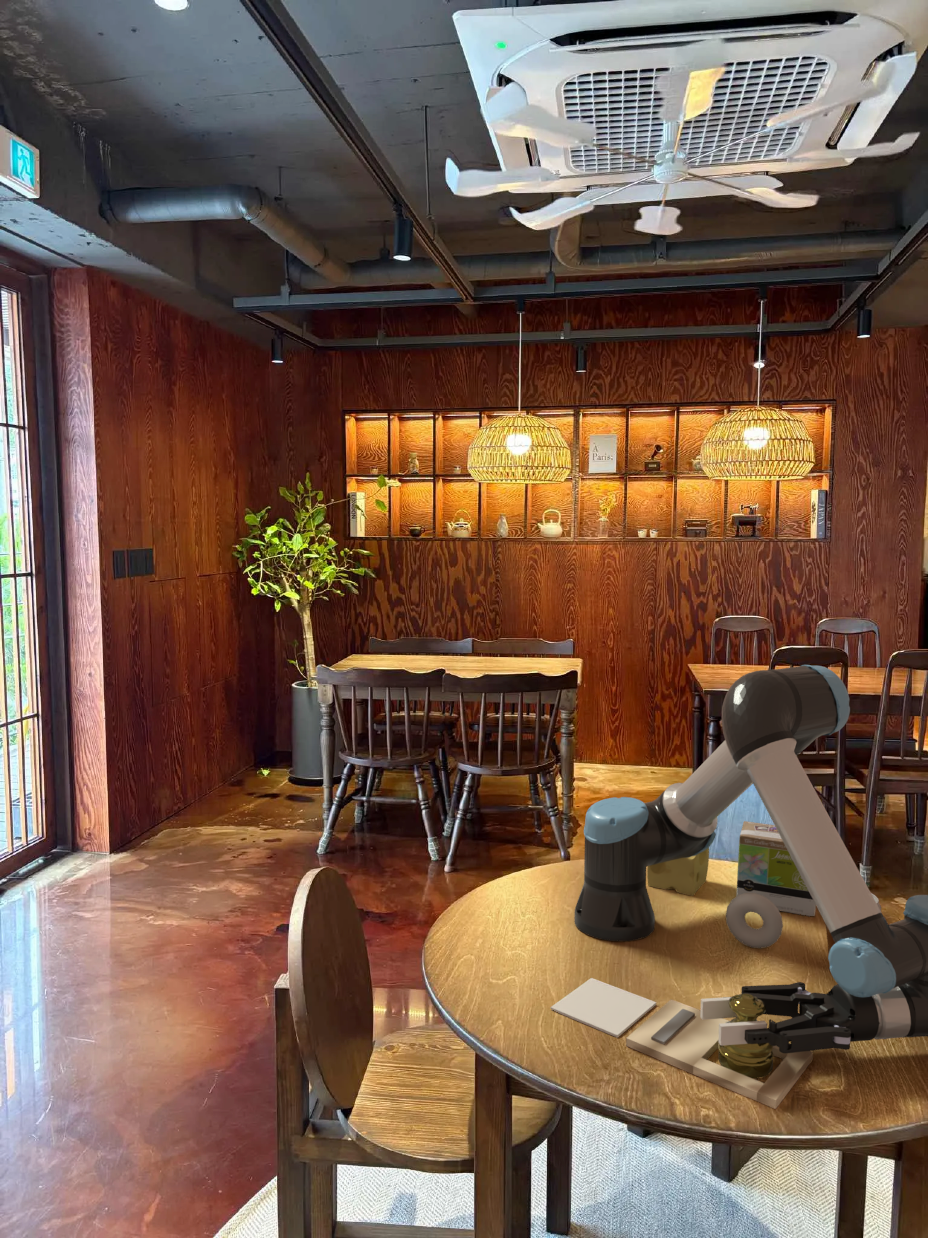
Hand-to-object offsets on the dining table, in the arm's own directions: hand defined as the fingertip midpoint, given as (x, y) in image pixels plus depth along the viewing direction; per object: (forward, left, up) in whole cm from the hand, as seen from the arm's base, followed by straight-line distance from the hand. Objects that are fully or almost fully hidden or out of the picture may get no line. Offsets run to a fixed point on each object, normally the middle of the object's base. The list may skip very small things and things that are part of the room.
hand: (710, 1021), depth 123 cm
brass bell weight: (+4, +4, -7) cm, 8 cm away
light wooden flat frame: (0, +4, -7) cm, 7 cm away
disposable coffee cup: (+6, +44, -7) cm, 45 cm away
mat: (-19, +4, -7) cm, 21 cm away
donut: (-9, +39, -7) cm, 40 cm away
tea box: (-13, +61, -7) cm, 63 cm away
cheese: (-33, +57, -7) cm, 66 cm away
